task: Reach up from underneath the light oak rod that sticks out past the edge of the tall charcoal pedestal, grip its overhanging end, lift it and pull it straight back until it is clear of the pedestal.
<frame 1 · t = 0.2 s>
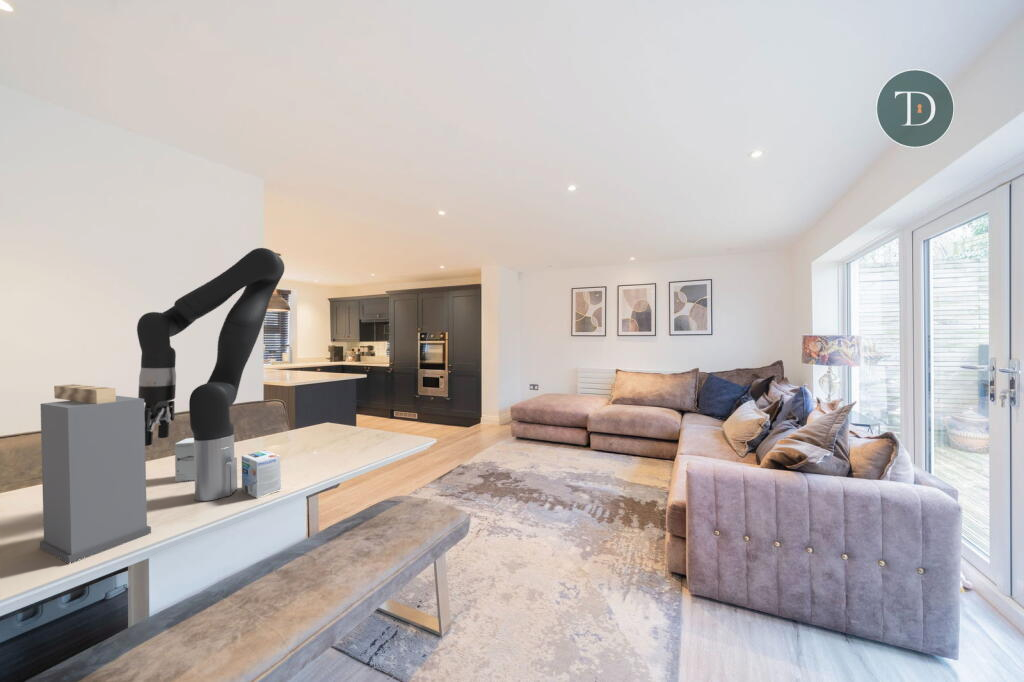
hand: (155, 441, 104), 17 cm above the table, tool pointing down, fingers open, 8 cm apart
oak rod: (84, 399, 87), point 32 cm above the table, touching charcoal pedestal
light bulb box: (261, 491, 112), on the table
supplement box: (194, 477, 124), on the table
charcoal pedestal: (97, 540, 85), on the table
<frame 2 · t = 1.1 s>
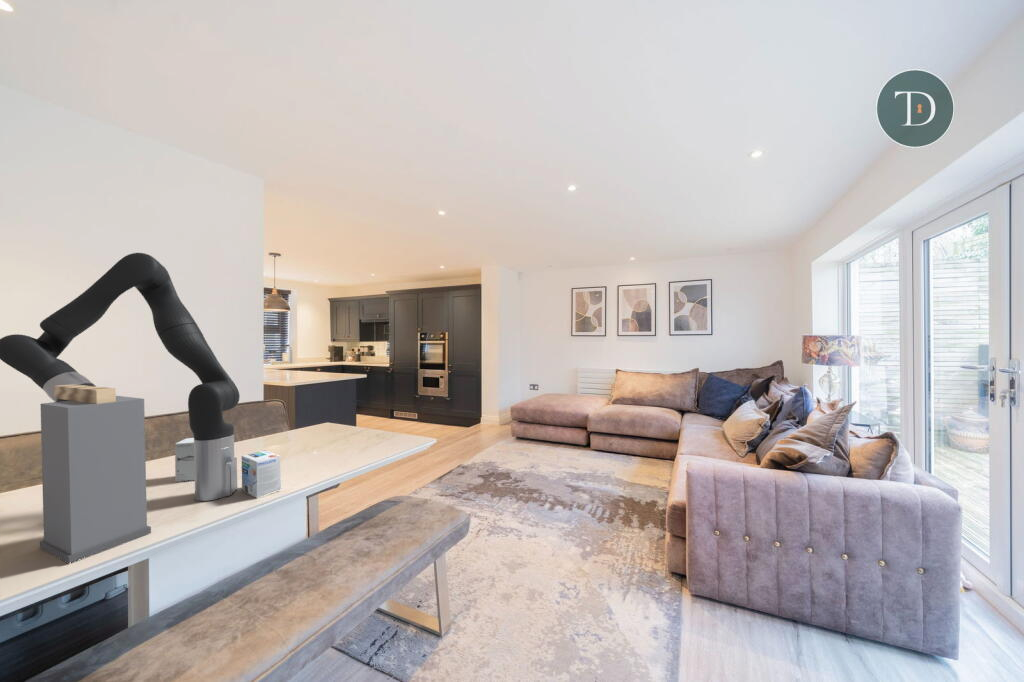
hand: (123, 434, 96), 21 cm above the table, tool tilted 50°, fingers open, 8 cm apart
nothing on the table moved.
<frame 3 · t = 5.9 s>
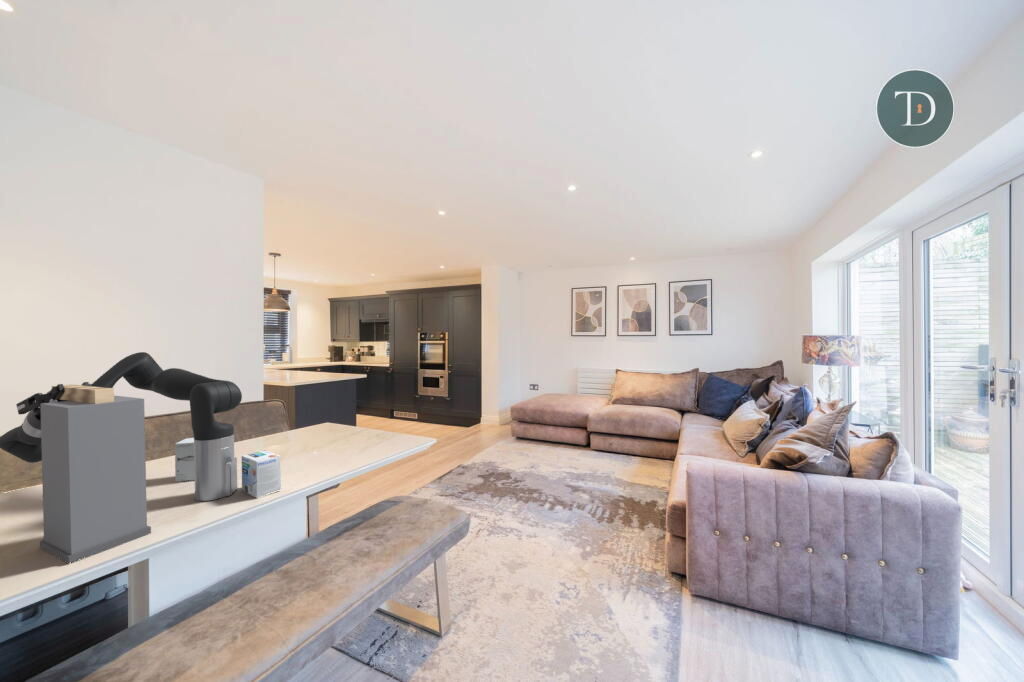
hand: (74, 386, 89), 35 cm above the table, tool pointing upward, fingers open, 3 cm apart
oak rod: (82, 399, 87), point 32 cm above the table, touching charcoal pedestal, gripper
everything else where it was.
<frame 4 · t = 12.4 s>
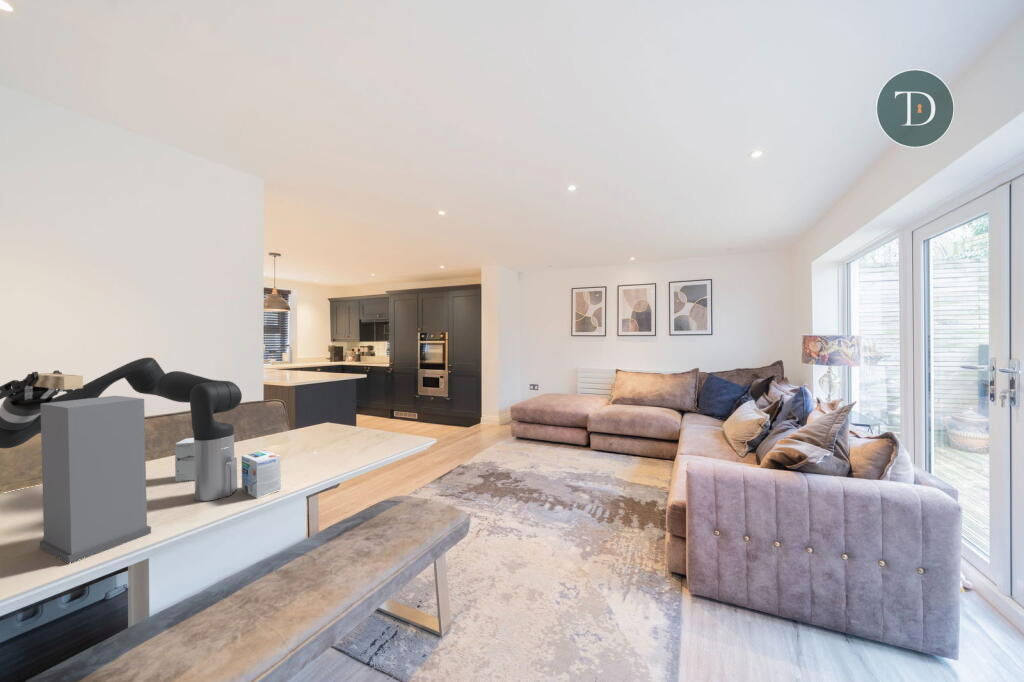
hand: (47, 374, 95), 37 cm above the table, tool pointing upward, fingers closed on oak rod, 3 cm apart
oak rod: (54, 386, 93), point 34 cm above the table, touching gripper
everything else where it was.
at the end: the gripper is holding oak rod; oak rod touching gripper; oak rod moved 16.3 cm from its start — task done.
